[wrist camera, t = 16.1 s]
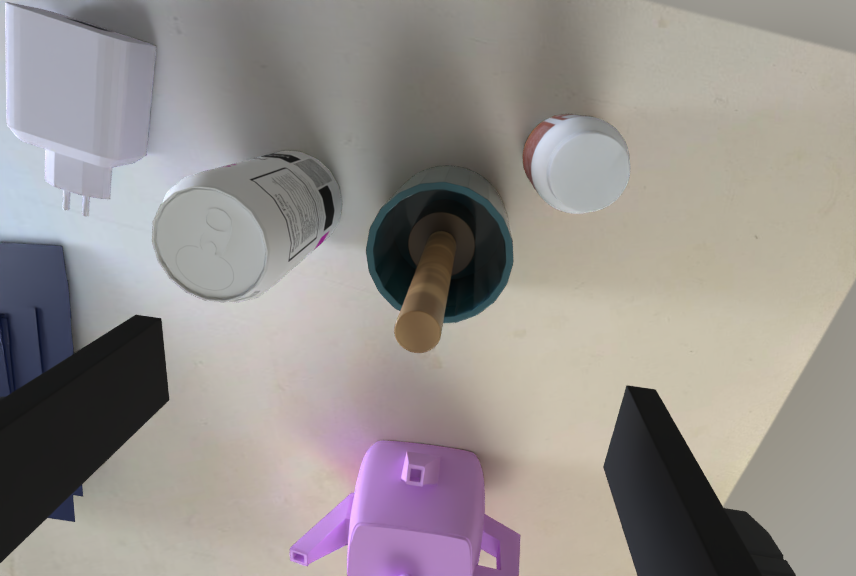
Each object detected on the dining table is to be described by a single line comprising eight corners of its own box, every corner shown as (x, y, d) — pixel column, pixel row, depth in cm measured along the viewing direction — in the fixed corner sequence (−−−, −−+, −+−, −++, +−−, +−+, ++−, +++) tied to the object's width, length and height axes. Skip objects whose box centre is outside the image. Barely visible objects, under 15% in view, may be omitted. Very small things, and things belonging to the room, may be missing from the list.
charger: (46, 191, 46) (50, 9, 40) (145, 222, 46) (162, 46, 40) (0, 201, 41) (-4, -1, 36) (109, 236, 41) (122, 40, 36)
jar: (480, 145, 40) (480, 157, 32) (524, 257, 43) (534, 295, 35) (369, 193, 43) (342, 217, 34) (417, 296, 46) (402, 341, 37)
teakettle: (415, 578, 58) (399, 698, 46) (309, 481, 54) (263, 585, 43) (536, 508, 52) (552, 623, 41) (427, 396, 49) (411, 487, 38)
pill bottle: (542, 207, 42) (563, 243, 31) (508, 139, 40) (517, 154, 30) (615, 169, 40) (661, 194, 30) (581, 97, 38) (618, 97, 28)
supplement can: (326, 259, 45) (256, 332, 31) (239, 221, 45) (129, 277, 31) (358, 175, 42) (296, 213, 28) (265, 133, 42) (156, 151, 28)
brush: (462, 189, 41) (445, 265, 22) (485, 245, 42) (487, 360, 24) (406, 213, 42) (346, 303, 24) (430, 266, 44) (391, 392, 25)
